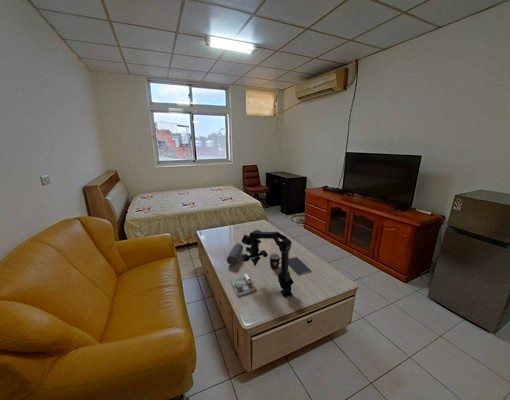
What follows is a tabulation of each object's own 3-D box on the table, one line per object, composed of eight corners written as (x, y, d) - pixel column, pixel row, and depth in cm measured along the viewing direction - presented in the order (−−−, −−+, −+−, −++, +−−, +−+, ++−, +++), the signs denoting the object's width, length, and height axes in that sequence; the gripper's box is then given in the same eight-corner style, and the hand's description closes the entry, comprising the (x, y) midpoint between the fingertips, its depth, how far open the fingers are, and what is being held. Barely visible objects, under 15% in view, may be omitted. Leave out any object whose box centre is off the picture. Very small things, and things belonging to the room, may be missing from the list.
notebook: (311, 272, 172) (296, 258, 191) (311, 270, 172) (296, 256, 191) (297, 275, 168) (284, 261, 187) (297, 273, 167) (284, 259, 186)
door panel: (256, 291, 150) (256, 286, 149) (237, 296, 145) (237, 292, 144) (248, 277, 164) (248, 273, 163) (230, 282, 159) (230, 278, 158)
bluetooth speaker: (237, 266, 178) (236, 256, 175) (226, 265, 180) (225, 255, 177) (243, 252, 199) (243, 243, 197) (234, 251, 201) (234, 242, 198)
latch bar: (252, 284, 155) (252, 280, 154) (248, 285, 154) (247, 281, 153) (247, 276, 164) (247, 272, 163) (243, 277, 163) (243, 273, 162)
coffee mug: (267, 268, 176) (267, 257, 173) (271, 262, 184) (271, 252, 181) (281, 271, 172) (281, 260, 169) (284, 266, 179) (284, 255, 176)
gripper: (261, 240, 168) (261, 257, 172) (239, 244, 161) (239, 262, 165) (268, 246, 158) (267, 265, 162) (244, 251, 151) (244, 270, 156)
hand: (254, 265), depth 162 cm, fingers closed
